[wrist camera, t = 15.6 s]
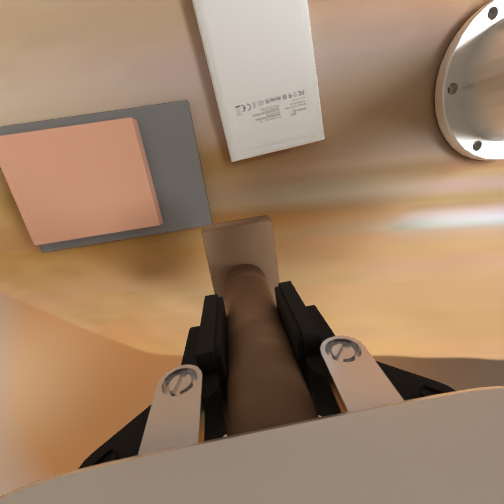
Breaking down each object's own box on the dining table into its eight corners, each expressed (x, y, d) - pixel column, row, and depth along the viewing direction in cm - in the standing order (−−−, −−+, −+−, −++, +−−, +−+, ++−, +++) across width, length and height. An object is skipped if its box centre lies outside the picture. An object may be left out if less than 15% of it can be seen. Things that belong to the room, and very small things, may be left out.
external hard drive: (295, -35, 19) (320, 141, 23) (189, -10, 19) (231, 163, 23) (301, -53, 18) (326, 139, 21) (185, -26, 18) (231, 162, 21)
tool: (266, 215, 16) (436, 390, 3) (278, 310, 19) (412, 655, 5) (204, 225, 16) (106, 458, 3) (224, 320, 18) (220, 704, 5)
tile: (131, 117, 18) (-13, 137, 18) (160, 225, 21) (34, 245, 20) (137, 120, 20) (3, 139, 19) (163, 222, 22) (45, 241, 22)
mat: (188, 102, 21) (187, 100, 20) (212, 223, 24) (211, 225, 23) (-2, 129, 20) (-11, 128, 19) (48, 250, 23) (42, 252, 22)
